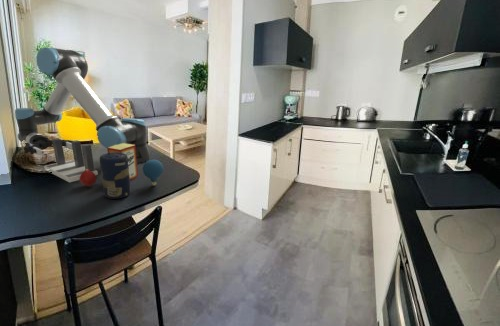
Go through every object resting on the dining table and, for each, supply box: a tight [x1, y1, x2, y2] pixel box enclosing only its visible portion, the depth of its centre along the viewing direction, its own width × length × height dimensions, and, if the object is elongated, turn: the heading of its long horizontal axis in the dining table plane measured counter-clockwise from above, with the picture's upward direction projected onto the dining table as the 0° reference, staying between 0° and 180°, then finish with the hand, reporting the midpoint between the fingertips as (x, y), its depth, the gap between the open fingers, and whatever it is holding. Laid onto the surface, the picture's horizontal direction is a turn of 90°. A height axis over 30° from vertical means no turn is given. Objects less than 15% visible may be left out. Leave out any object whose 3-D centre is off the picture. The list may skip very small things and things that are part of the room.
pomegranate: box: [79, 169, 97, 188], centre depth 104 cm, size 6×6×8 cm
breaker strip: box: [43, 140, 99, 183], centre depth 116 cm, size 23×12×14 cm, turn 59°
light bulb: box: [142, 158, 164, 186], centre depth 109 cm, size 8×8×12 cm
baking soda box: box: [106, 143, 139, 181], centre depth 113 cm, size 10×6×16 cm
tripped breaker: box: [51, 137, 66, 164], centre depth 119 cm, size 3×2×12 cm
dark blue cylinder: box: [99, 152, 131, 200], centre depth 97 cm, size 10×10×18 cm
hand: (57, 149), depth 119 cm, fingers open, 13 cm apart
